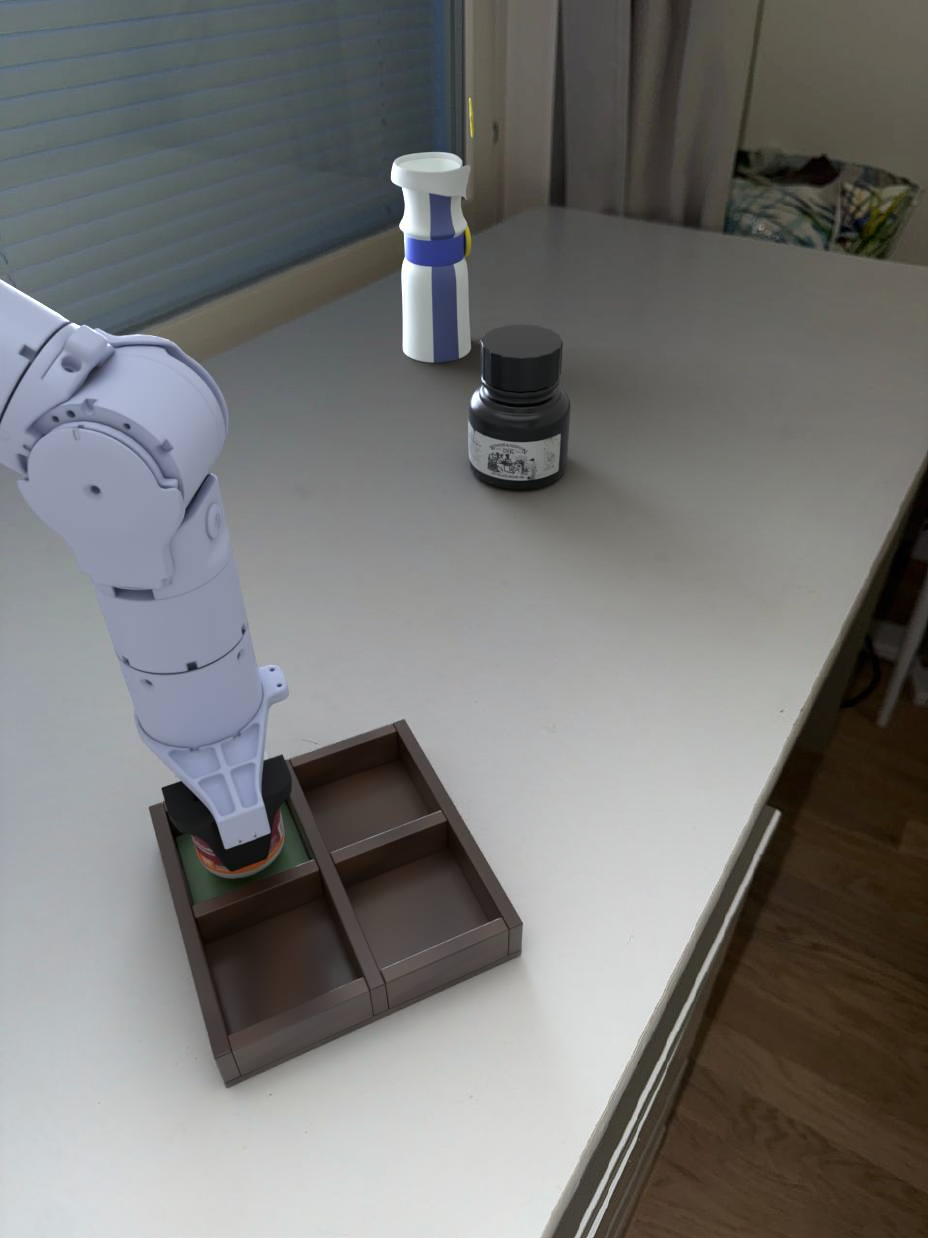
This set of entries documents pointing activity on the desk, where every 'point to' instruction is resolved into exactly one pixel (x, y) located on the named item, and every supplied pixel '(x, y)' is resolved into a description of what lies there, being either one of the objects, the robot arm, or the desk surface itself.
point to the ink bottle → (519, 409)
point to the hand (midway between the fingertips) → (234, 822)
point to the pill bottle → (220, 870)
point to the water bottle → (434, 255)
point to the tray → (338, 906)
